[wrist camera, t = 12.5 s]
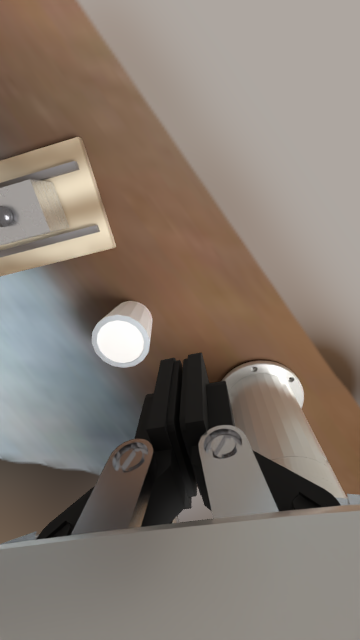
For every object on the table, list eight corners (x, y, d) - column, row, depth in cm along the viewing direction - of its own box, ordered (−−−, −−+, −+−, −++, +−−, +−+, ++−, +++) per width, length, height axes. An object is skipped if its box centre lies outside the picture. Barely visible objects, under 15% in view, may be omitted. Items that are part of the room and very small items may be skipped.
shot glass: (104, 296, 39) (86, 315, 33) (155, 295, 39) (147, 314, 33) (110, 342, 42) (95, 368, 36) (158, 342, 42) (151, 368, 35)
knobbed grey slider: (69, 227, 35) (46, 232, 29) (9, 243, 36) (-24, 251, 30) (44, 158, 32) (14, 150, 27) (-20, 178, 33) (-62, 173, 28)
